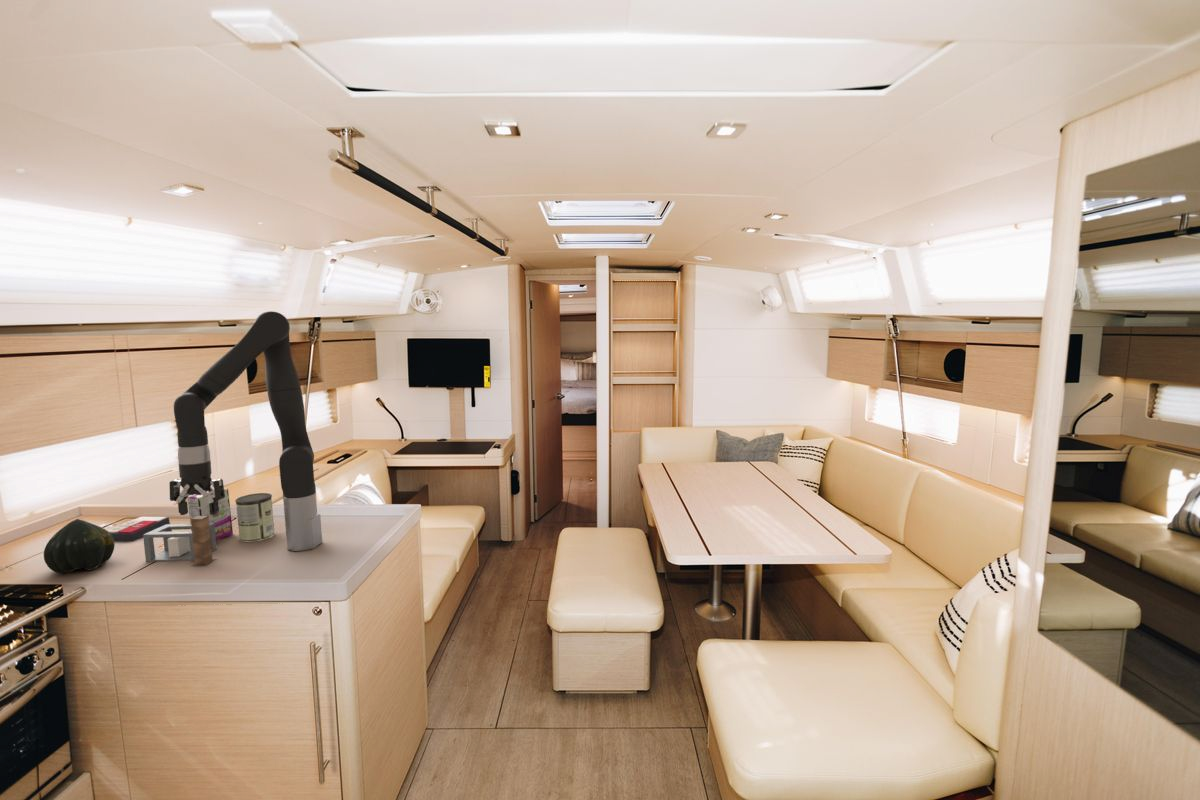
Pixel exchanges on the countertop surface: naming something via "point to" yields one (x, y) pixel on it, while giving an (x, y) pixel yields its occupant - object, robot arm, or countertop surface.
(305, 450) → the robot arm
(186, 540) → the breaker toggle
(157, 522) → the flat navy red box
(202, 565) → the stylus pad
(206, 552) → the wooden block
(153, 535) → the breaker guard
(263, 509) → the coffee can
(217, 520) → the candy bar box
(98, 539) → the squash
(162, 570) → the countertop surface
